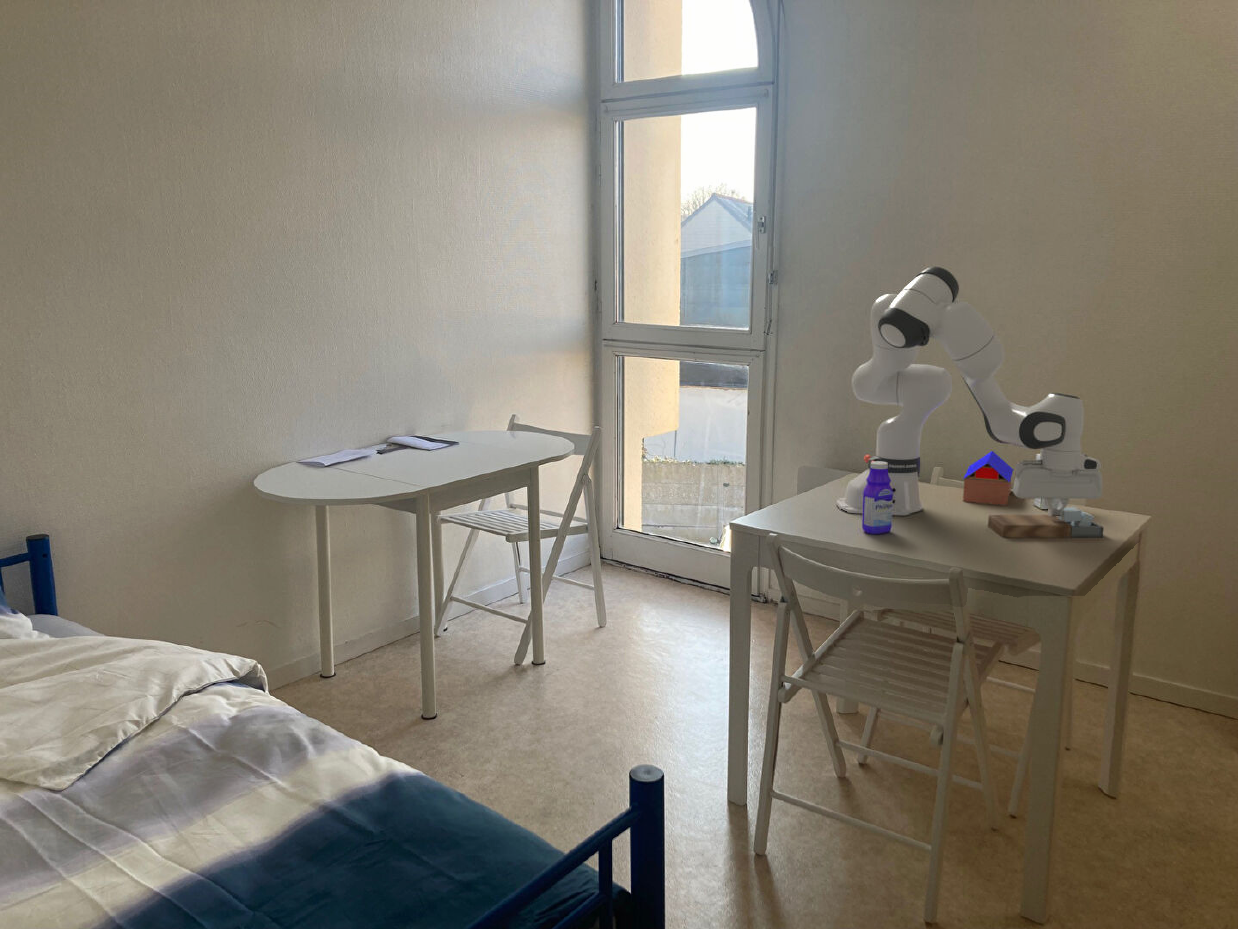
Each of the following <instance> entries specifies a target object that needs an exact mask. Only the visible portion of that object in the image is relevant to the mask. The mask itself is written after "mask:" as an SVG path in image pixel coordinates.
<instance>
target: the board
mask: <svg viewBox="0 0 1238 929" xmlns="http://www.w3.org/2000/svg"><path fill="white" fill-rule="evenodd" d="M987 522H988V523H987V527H988V528H989V529H990V530H992V531H993V532H995V533H996V534H997V535H999V536H1000V537H1002V538H1071V537H1070V533H1071V525H1070V524H1068V523H1066V522H1064V521H1062V520H1060V519H1059V518H1058V516H1049V515H1048V514H988V520H987Z"/></svg>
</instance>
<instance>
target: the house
mask: <svg viewBox="0 0 1238 929" xmlns="http://www.w3.org/2000/svg"><path fill="white" fill-rule="evenodd" d="M1013 472H1014V469H1013V468H1012V467H1011V466H1010V465H1009V464H1008V463H1007V462H1006V461H1005V460H1004V459H1002V458H1001V457H1000V456H999V455H998V454H997V453H996V452H994V450H991V451H990V452H988V453H987V454H985V455H984V456H982V457H981V458H979V459H978V460H977V461H975V462H973V463H972V464H970V465H969V466H968V469H967V470H966V473H965V474H964V477H963V478H962V479H963V480H964V482H963V496H962V498H963V499H962V502H965V503H977V504H986V503H990V504H989V505H998V504H1003V505H1002V506H1007V505H1008V502H1009V498H1010V495H1011V494H1010V493H1011V488H1012V487H1011V485H1012V475H1013ZM1008 497H1009V498H1008ZM1004 504H1005V505H1004Z"/></svg>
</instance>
